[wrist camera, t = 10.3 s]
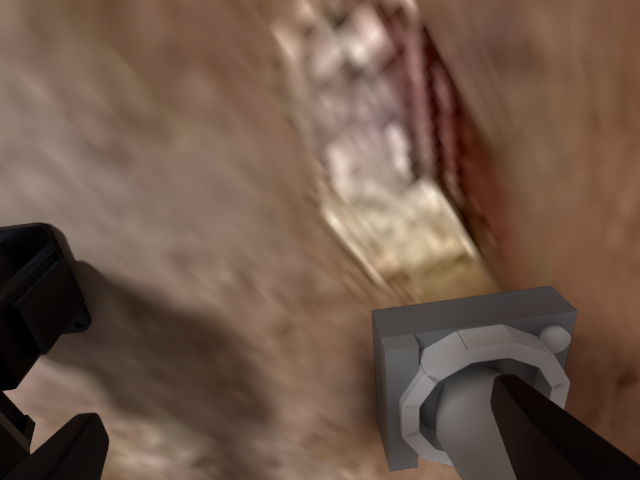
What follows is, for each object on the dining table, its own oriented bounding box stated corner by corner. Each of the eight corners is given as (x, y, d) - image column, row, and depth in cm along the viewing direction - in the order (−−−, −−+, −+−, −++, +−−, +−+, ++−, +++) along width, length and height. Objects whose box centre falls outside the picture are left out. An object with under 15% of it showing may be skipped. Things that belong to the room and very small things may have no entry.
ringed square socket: (378, 424, 29) (391, 479, 26) (371, 310, 25) (387, 357, 21) (529, 402, 30) (563, 453, 26) (551, 286, 25) (595, 328, 22)
